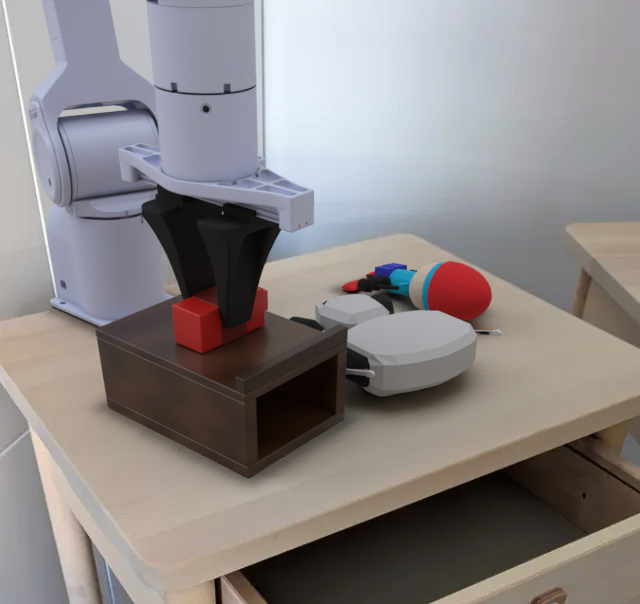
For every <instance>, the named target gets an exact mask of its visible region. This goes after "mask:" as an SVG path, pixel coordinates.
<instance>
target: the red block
mask: <svg viewBox="0 0 640 604" xmlns="http://www.w3.org/2000/svg"><path fill="white" fill-rule="evenodd" d="M268 292H269V291H268V290H267V289H265V288H263V287H261V286H258V289H257V293H256V297H255V302H254V307H253V311H252V316H251V320H250V321H247V322H245V323H243V324H241V325H239V326H236V327H234V328H232V329H229V328H227V327H224V326H223V324H222V321H221V318H220V314H219V308H218V299H217V290H216V286H214V287H211V288H209V289H206V290H204V291H201V292H199V293H197V294H194V295H192V296H191V297H190V298H188V299H185V300H183V301H180V302H178V303H175V304H173V305H172V312H173V322H174V333H175V342H176V343H179V344H181V345H183V346H186V347H188V348H190V349H193V350H195V351H197V352H200V353H202V354H203V353H205V352H207V351H210V350H212V349H214V348H216V347H218V346H220V345H222V346H223V345H225V344H227V343H230V342H232V341H234V340H236V339H238V338H240V337H242V336H244V335H247V333H248V332H250V331H252V330H254V329H256V328H259V327H261V326H263V325H264V324H265V317H264V311H268V310H269V293H268Z"/></svg>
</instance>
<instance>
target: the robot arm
mask: <svg viewBox="0 0 640 604" xmlns="http://www.w3.org/2000/svg"><path fill="white" fill-rule="evenodd" d="M40 1H41V5H42V9H43V14H44V19H45V23H46V27H47V31H48V32H47V33H48V36H49V41H50V47H51V50H52V54H53V59H54V66H53V68H52V69H51V70H50V71H49V73H48V74H47V75H46V76H45V78H43V80H42V81H41V82H40V83H39V84H38V85H37V87H35V89H34V90H33V92H32V93H31V95H30V97H29V101H28V108H27V114H28V119H29V123H30V130H31V143H32V152H33V159H34V163H35V166H36V171H37V175H38V178H39V182H40V183H41V186H42V189H43V190H44V193H45V194H46V197H47V198H48V199H49V200H50V201H51V202H53V204H52V206H51V208H49V209H50V210H49V212H48V215H47V218H46V227H45V229H46V230H45V232H46V238H47V243H48V244H47V245H48V249H49V255H50V260H51V265H52V271H53V276H54V281H55V287H56V292H57V296H56V297H53V298H51V299H50V300H49V302H50V306H52V307H53V308H56V309H58V310H61V311H63V312H66V313H68V314H70V315H72V316H73V317H76V318H78V319H81V320H83V321H85V322H88V323H90V324H93V325H95V326H96V327H101V326H103V325H106V324H108V323H111V322H113V321H116V320H118V319H121V318H123V317H126V316H128V315H131V314H133V313H136V312H138V311H141V310H143V309H146V308H148V307H151V306H153V305H156V304H158V303H161V302H163V301H165V300H168V299H170V298H173V297H175V296H174V295H172V294H169V293H167V292H166V285H165V276H164V264H163V256H162V249H163V251H164V253H165V255H166V257H167V260H168V262H169V264H170V266H171V269H172V272H173V275H174V277H175V280H176V282H177V285H178V288H179V291H180V294H182V297H183V300H185V299H188V298H190V297H191V296H192V295H194V294H197V293H199V292H201V291H204V290H206V289H209V288H211V287H214V286H216V290H217V299H218V308H219V314H220V318H221V321H222V324H223V326H224V327H227V328H229V329H232V328H234V327H236V326H239V325H241V324H243V323H245V322H247V321H250V320H251V316H252V311H253V307H254V302H255V297H256V293H257V289H258V287H259V285H260V281H261V278H262V274H263V271H264V267H265V265H266V263H267V260H268V257H269V255H270V253H271V251H272V249H273V247H274V244H275V242H276V240H277V238H278V237H279V235H280V233H281V231H284V232H288V233H295V232H297V231H300V230H303V229H305V228H308V227H310V226H314V224H315V222H314V221H315V190H314V189H312V188H309V187H306V186H302V185H300V184H298V183H296V182H293V181H291V180H290V179H288V178H286V177H284V176H282V175H281V174H278V173H277V172H275V171H273V170H272V169H270V168H268V167H266V157H264V156H262V155H259V139H258V137H259V135H258V133H259V132H258V100H257V99H258V97H257V96H258V94H257V92H258V91H257V57H256V56H257V54H256V50H257V48H256V14H255V13H256V10H255V0H145V1H146V13H147V23H148V24H147V25H148V34H149V45H150V56H151V67H152V76H153V83H152V82H151V81H149V80H148V79H147V78H146V77H144V76H143V75H141V74H140V73H139V72H137V71H136V70H135V69H134V68H132V67H131V66H129V65H128V64H127V63H126V62H124V61H123V60H122V59H121V53H120V49H119V45H118V39H117V33H116V29H115V24H114V19H113V18H114V17H113V13H112V7H111V3H110V0H40ZM110 106H115V107H122V108H124V110H123V109H122V110H113V111H106V112H105V111H103V112H93V113H84V114H76V115H75V114H74V115H64V116H60V115H61V114H62V112H64V111H71V110H73V111H74V110H81V109H82V110H83V109H92V108H101V107H102V108H103V107H110Z"/></svg>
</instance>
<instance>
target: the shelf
mask: <svg viewBox="0 0 640 604" xmlns="http://www.w3.org/2000/svg"><path fill="white" fill-rule="evenodd" d="M180 301H183V297H182V294H181V293H180V294H178V295H176V296H175V297H173V298H170V299H168V300H165V301H163V302H161V303H158V304H156V305H153V306H151V307H148V308H146V309H143V310H141V311H138V312H136V313H133V314H131V315H128V316H126V317H123V318H121V319H118V320H116V321H113V322H111V323H108V324H106V325H103V326H101V327H99V326H97V327H96V328H94V329H95V336H96V341H97V347H98V354H99V359H100V360H99V361H100V367H101V372H102V373H101V374H102V379H103V380H102V381H103V386H104V392H105V398H106V406H107V407H108V408H110V409H112V410H114V411H115V412H117V413H120V415H123V416H125V417H127V418H129V419H131V420H132V421H133V420H134V421H135V422H137V423H139V424H141V425H143V426H145V427H146V428H149V429H151V430H153V431H154V432H157V433H159V434H161V435H162V436H165V437H167V438H169V439H170V440H172V441H175V442H176V443H178V444H180V445H182V446H184V447H186V448H189V449H191V450H192V451H194V452H195V453H198V454H200V455H202V456H204V457H206V458H208V459H210V460H212V461H213V462H216V463H218V464H220V465H222V466H223V467H226V468H227V469H229V470H232V471H234V472H236V473H237V474H240V475H241V476H243V477H245V478H246V479H247V478H248V479H249V478H252V477H253V476H255V475H256V474H257V473H259V472H261V471H262V470H264V469H265V468H267V467H269V466H271V465H273V464H274V463H275V462H277V461H279V460H280V459H282V458H283V457H286V456H287V455H289V454H290V453H291V452H293V451H295V450H297V449H298V448H300V447H301V446H303V445H304V444H306V443H307V442H309V441H311V440H313V439H314V438H316V437H317V436H319V435H320V434H322V433H324V432H325V431H327V430H329V429H331V428H332V427H333V426H335V425H337V424H339V423H340V422H342V421H343V420H345V406H346V380H347V379H346V361H347V338H348V327H346V326H344V325H341V324H338V325H336V326H334V327H332V328H330V329H328V330H326V331H324V332H321V331H319V330H316V329H313V328H311V327H308V326H305V325H303V324H300V323H297V322H295V321H292V320H289V319H290V318H286V317H284V316H282V315H279V314H276V313H273V312H271V311H268V310H266V311H264V317H265V324H264V325H263V326H261V327H259V328H256V329H254V330H252V331H250V332H248V333H247V335H244V336H242V337H240V338H238V339H236V340H234V341H232V342H230V343H227V344H225V345H223V346H222V345H220V346H218V347H216V348H214V349H212V350H210V351H207V352H205V353H203V354H202V353H200V352H197V351H195V350H193V349H190V348H188V347H186V346H183V345H181V344H179V343H176V342H175V333H174V322H173V312H172V305H173V304H175V303H178V302H180Z"/></svg>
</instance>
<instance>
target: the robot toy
mask: <svg viewBox="0 0 640 604" xmlns="http://www.w3.org/2000/svg"><path fill="white" fill-rule="evenodd" d="M314 308H315V311H314V312H315V319H312V318H307V317H301V316H294V315H293V316H291V317H290V318H288V319H289V320H292V321H295V322H297V323H300V324H303V325H305V326H308V327H311V328H313V329H316V330H319V331H321V332H324V331H326V330H328V329H330V328H332V327H334V326H336V325H338V324H341V325H344V326H346V327H348V338H347V361H346V380H347V381H349V382H350V383H353V384H355V385H356V386H358V387H359V388H362V389H363V390H365V392H367V393H369V394H372V395H374V396H377V397H390V396H393V395H396V394H402V393H404V394H405V393H410V392H415V391H419V390H420V391H421V390H424V389H427V388H432V387H435V386H439V385H442V384H443V383H446V382H448V381H450V380H452V379H454V378H456V377H458V376H459V375H460V374H462V373H463V372H465V371H466V370H468V369H469V368H470V367H472V366H473V365H474V362H475V361H476V357H477V356H476V355H477V344H478V336H479V335H481V336H492V337H499V336H501V335H502V334H503V333H502V332H501V331H502V330H500V329H493V330H489V329H488V330H487V329H486V330H485V329H474V327H473V326H472V324H471V323H469V322H468V321H462V320H460V319H457V318H455V317H452V316H450V315H447V314H445V313H443V312H440V311H428V310H420V309H417V310H408V311H401V312H395V309H394V304H393V301H392V300H391V298H390V296H388V295H387V294H384V293H375V294H372V295H367V294H365V293H349V294H343V295H339V296H334V297H333V298H329V299H327V300H326V301H323V302H322V301H321V300H319V301H318V302H316V303H315V304H314Z"/></svg>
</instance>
